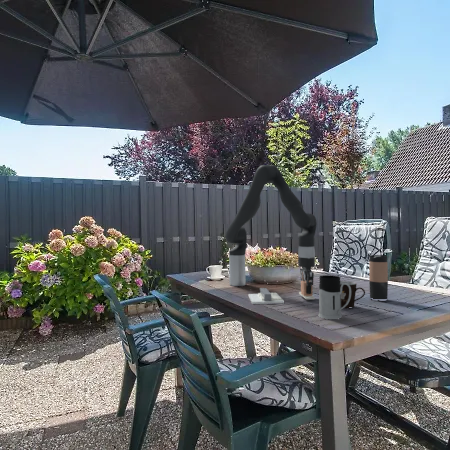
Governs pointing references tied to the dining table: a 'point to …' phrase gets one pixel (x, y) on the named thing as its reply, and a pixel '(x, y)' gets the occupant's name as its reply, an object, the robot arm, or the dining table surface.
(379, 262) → the travel mug
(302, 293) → the tan block on plate
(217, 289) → the dining table surface
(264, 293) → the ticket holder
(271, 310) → the dining table surface
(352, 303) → the coffee mug
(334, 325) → the dining table surface
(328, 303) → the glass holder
